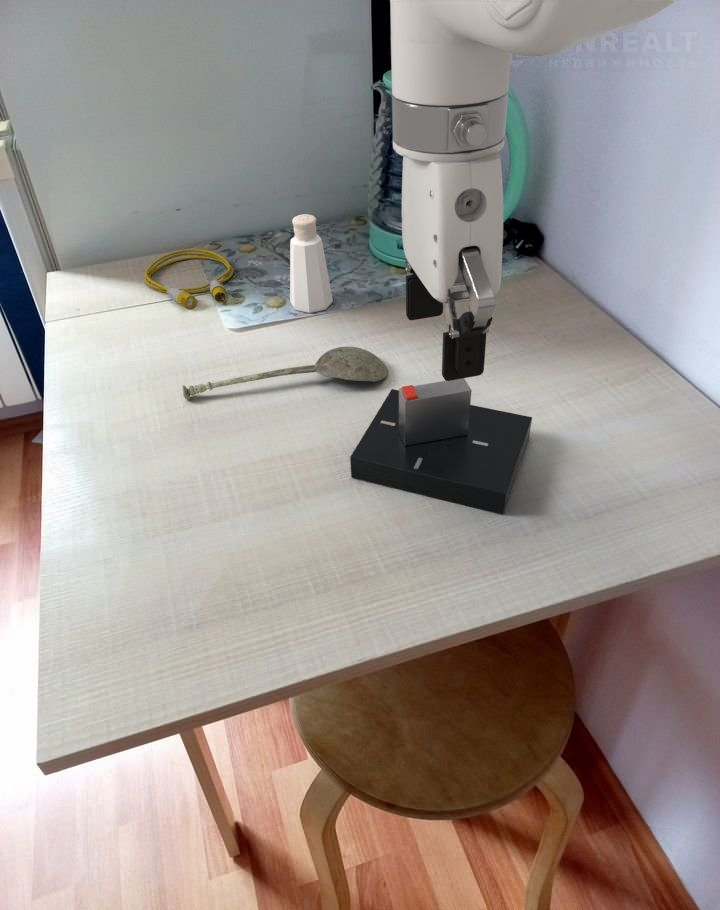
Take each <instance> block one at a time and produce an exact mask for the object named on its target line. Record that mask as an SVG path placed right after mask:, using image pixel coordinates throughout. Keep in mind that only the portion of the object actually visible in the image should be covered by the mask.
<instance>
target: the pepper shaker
mask: <svg viewBox="0 0 720 910" xmlns="http://www.w3.org/2000/svg"><path fill="white" fill-rule="evenodd" d="M291 222H292V225H293V233H294V236H293V237H292V238H290V243H289V247H290V248H289V249H290V250H289V254H290V255H289V269H290V270H289V288H290V289H289V302H290V305H291V306H292V308H293V309H294V311H298V312H302V313H307V314H312V313H319V312H322V311H325V310H326V309H328V308H329V307H330V305H331V304H333V302H334V299H333V295H332V294H333V293H332V288H331V283H330V278H329V272H328V266H327V261H326V256H325V250H324V245H323V239H322V238H321V236H320V235H319V234H318V233H317V218H316V217H315V215H312V214H307V213H303V214H299V215H296V216H294V217H293V218H292V220H291Z"/></svg>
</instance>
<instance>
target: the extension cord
mask: <svg viewBox="0 0 720 910" xmlns="http://www.w3.org/2000/svg"><path fill="white" fill-rule="evenodd" d="M184 256H186V257H184ZM178 257H179V258H178ZM174 258H176V259H174ZM171 259H173V260H171ZM198 259H199V260H210V261H215V262H219V263H222V264H223V265H224V266H225V267H226V268H227V270H226V271H225V272H224V273H222V274H221V275H219V276H218V277H216V278H214V279H212V280H209V282H207V284H204V285H200V286H195V287H184V288H177V287H172V286H171V287H165V286H164V285H161V284H160V283H158V282H156V281H154V280H153V279H152V276H153V275H154V274H155V273H156V272H158V271H159V270H160V269H162V268H164V267H167V266H169V265H172V264H175V263H177V262H178V263H179V262H181V261H185V260H198ZM169 260H170V261H169ZM234 271H235V270H234V268H233V266H232V265H231V264H230V262H229V261H228V260H227V259H226V258H225V257H224V256H222V255H220V254H218V253H216V252H214V251H210V250H206V249H197V248H188V249H181V250H176V251H172V252H169V253H167V254H164V255H161V256H160V257H159V258H156V259H155V260H153V262H151V263H150V265H149V266H148V267H147V268H146V269H145V273H144V282H145V283H146V285H148V286H149V287H150V288H152V289H154V290H156V291H157V292H160V293H163V294H167V295H168V296H169V297H170V298H171V299H172V300H173V301H174V302H175V304H178V305H180V306H182V307H184V308H186V309H189V310H190V309H191V310H192V309H193V308H194V307H195V306H197V303H198V299H197V298H196V297H195V295H192V294H200V293H206V292H208V291H210V294H211V297H212V298H213V300H214V301H215V302H216V303H218V304H223V303H224V302H227V294H226V288H225V286H224V284H223V283H225V282H227V281H229V280H230V279H231V278H232V277H233V275H234V274H235V273H234Z"/></svg>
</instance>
